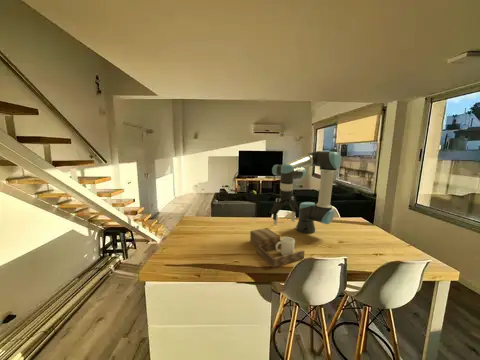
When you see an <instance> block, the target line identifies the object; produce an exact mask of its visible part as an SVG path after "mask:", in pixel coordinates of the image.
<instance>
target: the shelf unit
mask: <svg viewBox="0 0 480 360" xmlns="http://www.w3.org/2000/svg"><path fill="white" fill-rule="evenodd" d="M249 236H250V238H249V242H250V243H251V244H252V245H253V246H255V247H256V254H257V255H258V256H259V257H260V258H261V259H263V261H265V262H266V263H267V264H268V265H269V266H271V268H277V267H279V266H283V265H287V264H291V263H293V262H298V261H300V260H304V259H305V252H306V251H305V250H299V251H296V252H295V251H294V253H291V254H287V255H283V256H282V255H280V256H276V257H273V256H272V255H271V254H269V253H268V252H270V251H274V250H276V244H277V243H278V242H280V241H281V235H279V234H277V233H275V232H274V230H273V231H272V229H269V227H265V228H264V227H263V228H260V229H254V230H250V235H249ZM280 249H281V244H279V245H278V250H280ZM303 258H304V259H303Z"/></svg>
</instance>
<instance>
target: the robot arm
mask: <svg viewBox="0 0 480 360" xmlns="http://www.w3.org/2000/svg"><path fill="white" fill-rule="evenodd" d="M341 159H342V158H341V156H340V154H339V153H338V152H336V151H325V150H324V151H323V150H322V151H321V150H316V151H312V152H309V153H306V154H304V155H303V156H302V157H298V158H297V159H293V160H291V161H289V162H286V163H283V164H274V165H273V166H272V168H271V173H272V174H273V175H274V176H277V177H280V181H279V182H280V183H279V189H280V190H279V198H277V197H276V198H275V199H274V203H273V204H272V208H271V210H270V212H269V213H270V214H272V220H273V225H275V226H278V217H279V216H278V213H280V210H281V209H282V207H284V206H289V208H290V209H291V217H290V218H291V220H290V221H291V222H292V223H295V222H296V216H297V213H298V221H297V224H296V226H295V230H296V231H297V232H299V233H303V234H313V233H315V232H316V227H315V223H314V221H315V222H317V223H321V224H324V225H329V224H330V223H332V221H333V220H334V217H335V210H334V209H332V208H333V206H332V204H331V199H332V193H333V192H332V191H333V183H334V174H335V172H337V169H339V168H340V166H341V162H342V161H341ZM306 167H318V168H319V170H320V171H321V173H320V182H319V190H318V198H317V199H318V202H317V203H315V202H313V201H312V202H311V201H304V202H301V203H299V205H298V203H297V198H296V196H293V188H294V180H298V179H302V178H304V177H305V176H306V175H307V171H306Z"/></svg>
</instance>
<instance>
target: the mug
mask: <svg viewBox="0 0 480 360" xmlns="http://www.w3.org/2000/svg"><path fill="white" fill-rule="evenodd" d="M280 240H281V241H280V242H278V243H277V244H276V249H275V250H276V252H277V253H280V256H283V255H287V254H291V253H295V242H296V240H295V238H293V237H291V236H282V237H280ZM279 244H281V248H280V249H278V245H279Z"/></svg>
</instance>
